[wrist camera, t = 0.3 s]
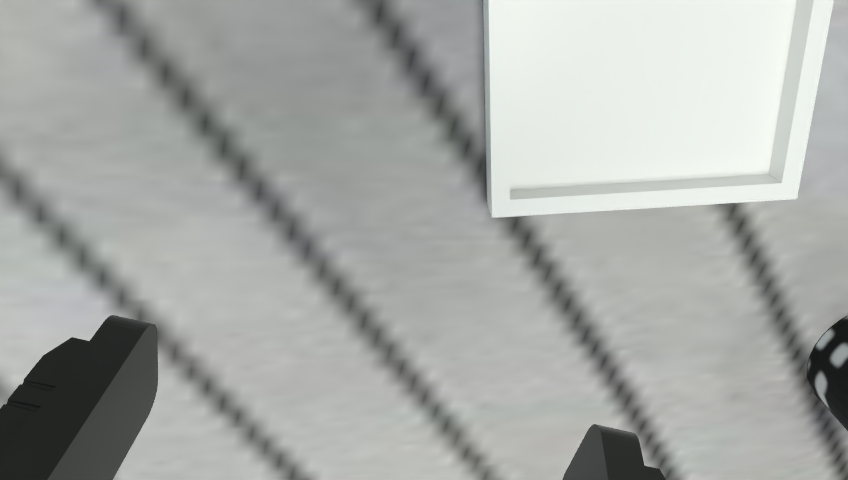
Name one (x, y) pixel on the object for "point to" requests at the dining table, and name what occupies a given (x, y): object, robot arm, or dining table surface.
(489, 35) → the tray
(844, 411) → the spotted tube
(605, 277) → the dining table surface
